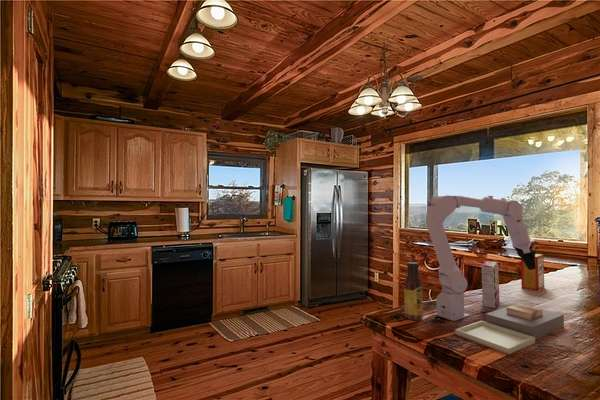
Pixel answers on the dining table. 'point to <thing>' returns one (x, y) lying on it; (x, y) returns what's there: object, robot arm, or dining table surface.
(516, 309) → the tile
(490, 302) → the candy bar box
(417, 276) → the sauce bottle
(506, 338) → the tray
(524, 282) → the baking soda box
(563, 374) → the dining table surface
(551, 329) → the grey flat block
